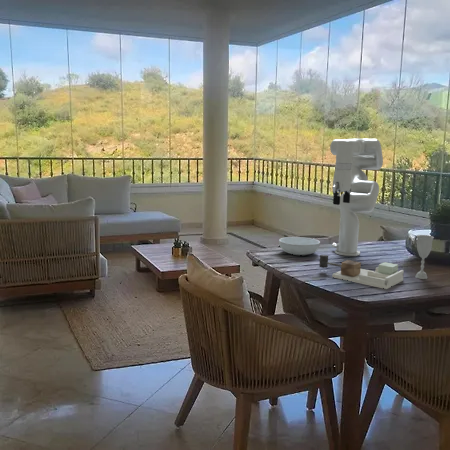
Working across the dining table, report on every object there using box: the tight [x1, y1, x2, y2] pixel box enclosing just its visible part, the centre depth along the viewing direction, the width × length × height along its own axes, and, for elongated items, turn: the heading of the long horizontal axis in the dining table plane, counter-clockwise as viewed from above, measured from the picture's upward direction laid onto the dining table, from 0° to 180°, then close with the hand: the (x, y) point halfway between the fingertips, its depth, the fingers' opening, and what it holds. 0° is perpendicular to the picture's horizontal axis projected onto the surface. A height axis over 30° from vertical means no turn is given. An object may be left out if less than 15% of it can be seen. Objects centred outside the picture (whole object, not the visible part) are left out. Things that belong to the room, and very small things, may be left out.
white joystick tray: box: [332, 261, 405, 290], centre depth 211 cm, size 24×17×7 cm
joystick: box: [318, 254, 362, 277], centre depth 216 cm, size 18×6×6 cm, turn 50°
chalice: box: [415, 234, 435, 280], centre depth 214 cm, size 7×7×18 cm
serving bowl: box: [278, 236, 321, 256], centre depth 255 cm, size 21×21×7 cm
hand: (341, 203), depth 234 cm, fingers open, 9 cm apart
